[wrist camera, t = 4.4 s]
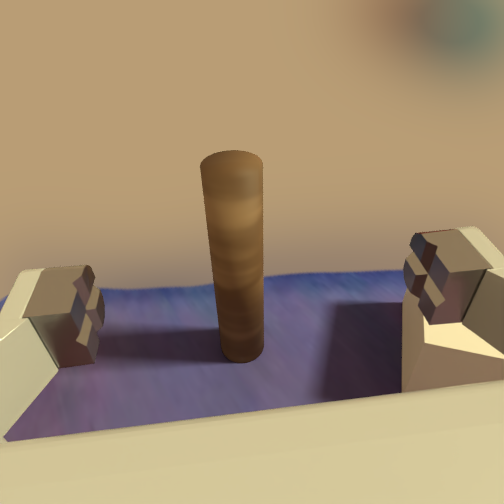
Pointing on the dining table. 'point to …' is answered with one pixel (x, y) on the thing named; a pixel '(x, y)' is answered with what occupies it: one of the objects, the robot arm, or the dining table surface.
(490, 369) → the bar
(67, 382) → the dining table surface
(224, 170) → the long walnut pin
